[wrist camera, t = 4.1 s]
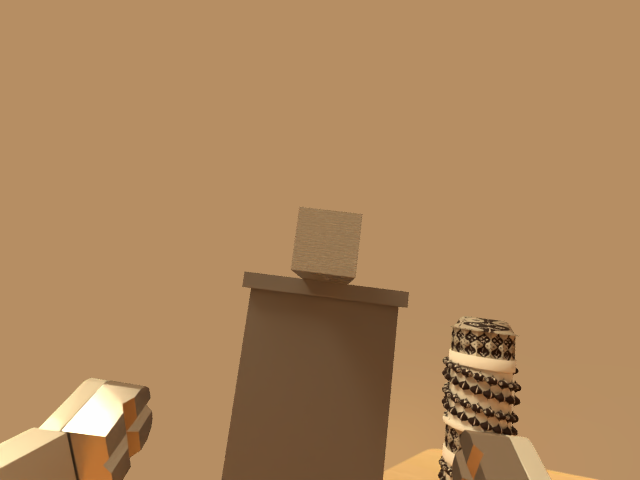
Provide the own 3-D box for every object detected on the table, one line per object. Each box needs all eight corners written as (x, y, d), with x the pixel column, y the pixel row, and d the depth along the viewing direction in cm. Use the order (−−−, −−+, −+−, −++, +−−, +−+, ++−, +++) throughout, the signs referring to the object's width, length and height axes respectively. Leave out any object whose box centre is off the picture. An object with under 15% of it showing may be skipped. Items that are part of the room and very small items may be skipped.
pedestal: (226, 583, 31) (270, 280, 35) (354, 604, 31) (384, 294, 35) (171, 733, 20) (244, 271, 25) (367, 769, 20) (408, 292, 24)
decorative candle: (431, 500, 50) (444, 313, 53) (507, 521, 47) (515, 322, 51) (432, 540, 41) (447, 314, 45) (524, 568, 38) (532, 324, 42)
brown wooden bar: (311, 286, 37) (316, 244, 37) (341, 289, 37) (346, 248, 37) (290, 269, 17) (302, 183, 18) (355, 277, 17) (364, 189, 17)
